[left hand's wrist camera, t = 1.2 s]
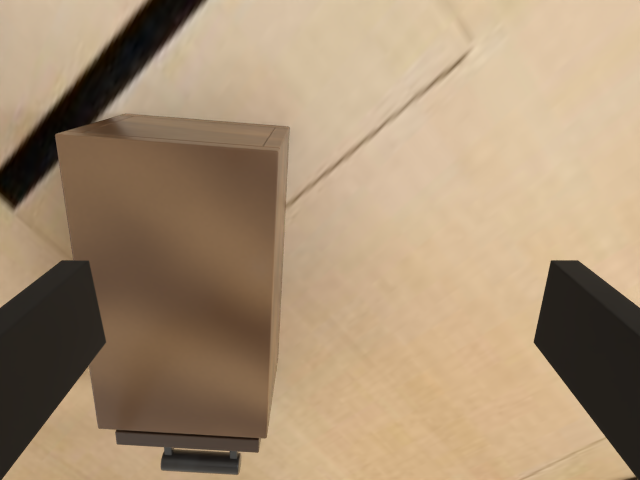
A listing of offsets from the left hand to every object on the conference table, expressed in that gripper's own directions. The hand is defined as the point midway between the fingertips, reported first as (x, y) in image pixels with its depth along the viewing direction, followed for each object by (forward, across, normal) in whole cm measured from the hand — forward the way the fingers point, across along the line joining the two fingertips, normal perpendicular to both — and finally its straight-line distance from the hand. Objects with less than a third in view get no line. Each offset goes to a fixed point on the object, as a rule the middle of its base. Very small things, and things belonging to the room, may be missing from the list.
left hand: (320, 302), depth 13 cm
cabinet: (+20, -8, -7) cm, 23 cm away
